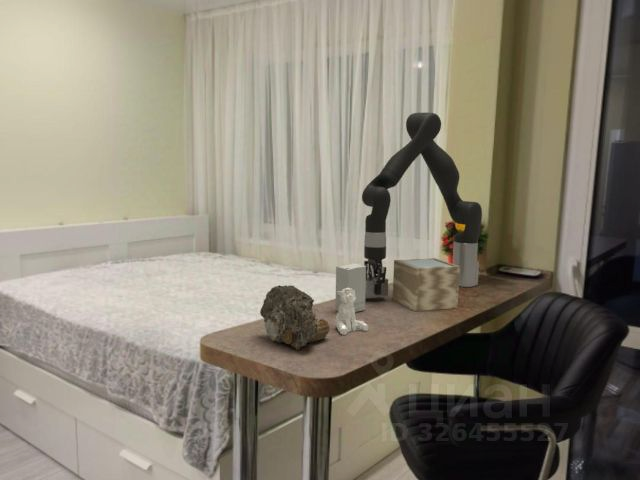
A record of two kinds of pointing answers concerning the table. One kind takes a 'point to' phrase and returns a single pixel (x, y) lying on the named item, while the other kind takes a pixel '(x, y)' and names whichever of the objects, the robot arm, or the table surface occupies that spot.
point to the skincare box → (351, 283)
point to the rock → (292, 317)
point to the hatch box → (426, 286)
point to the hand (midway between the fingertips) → (374, 292)
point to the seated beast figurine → (348, 313)
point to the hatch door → (425, 263)
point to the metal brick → (371, 288)
